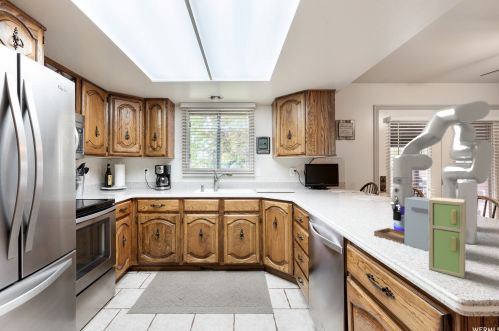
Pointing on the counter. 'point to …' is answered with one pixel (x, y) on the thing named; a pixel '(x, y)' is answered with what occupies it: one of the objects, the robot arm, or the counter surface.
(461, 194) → the grey post
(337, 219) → the counter surface
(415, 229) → the unit
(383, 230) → the tray
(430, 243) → the toy refrigerator
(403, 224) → the bottle
